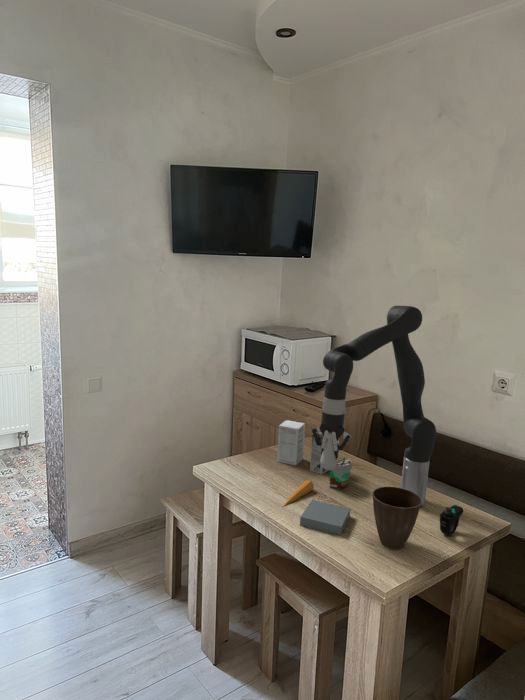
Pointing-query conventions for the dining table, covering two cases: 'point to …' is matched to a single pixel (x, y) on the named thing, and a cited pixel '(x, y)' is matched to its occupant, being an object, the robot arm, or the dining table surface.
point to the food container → (340, 474)
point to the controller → (450, 519)
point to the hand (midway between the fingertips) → (329, 458)
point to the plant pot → (395, 515)
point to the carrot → (301, 491)
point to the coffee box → (316, 457)
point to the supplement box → (291, 442)
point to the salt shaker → (328, 454)
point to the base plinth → (325, 517)
